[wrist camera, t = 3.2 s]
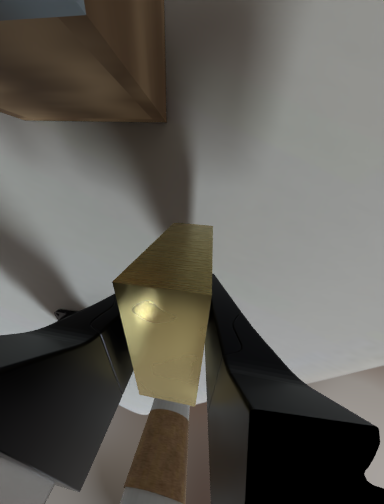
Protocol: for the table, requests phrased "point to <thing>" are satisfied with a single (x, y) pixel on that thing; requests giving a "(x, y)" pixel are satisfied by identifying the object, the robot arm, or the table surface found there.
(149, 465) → the coffee cup
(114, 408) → the robot arm
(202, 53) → the table surface
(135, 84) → the box
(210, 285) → the block
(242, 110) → the table surface
